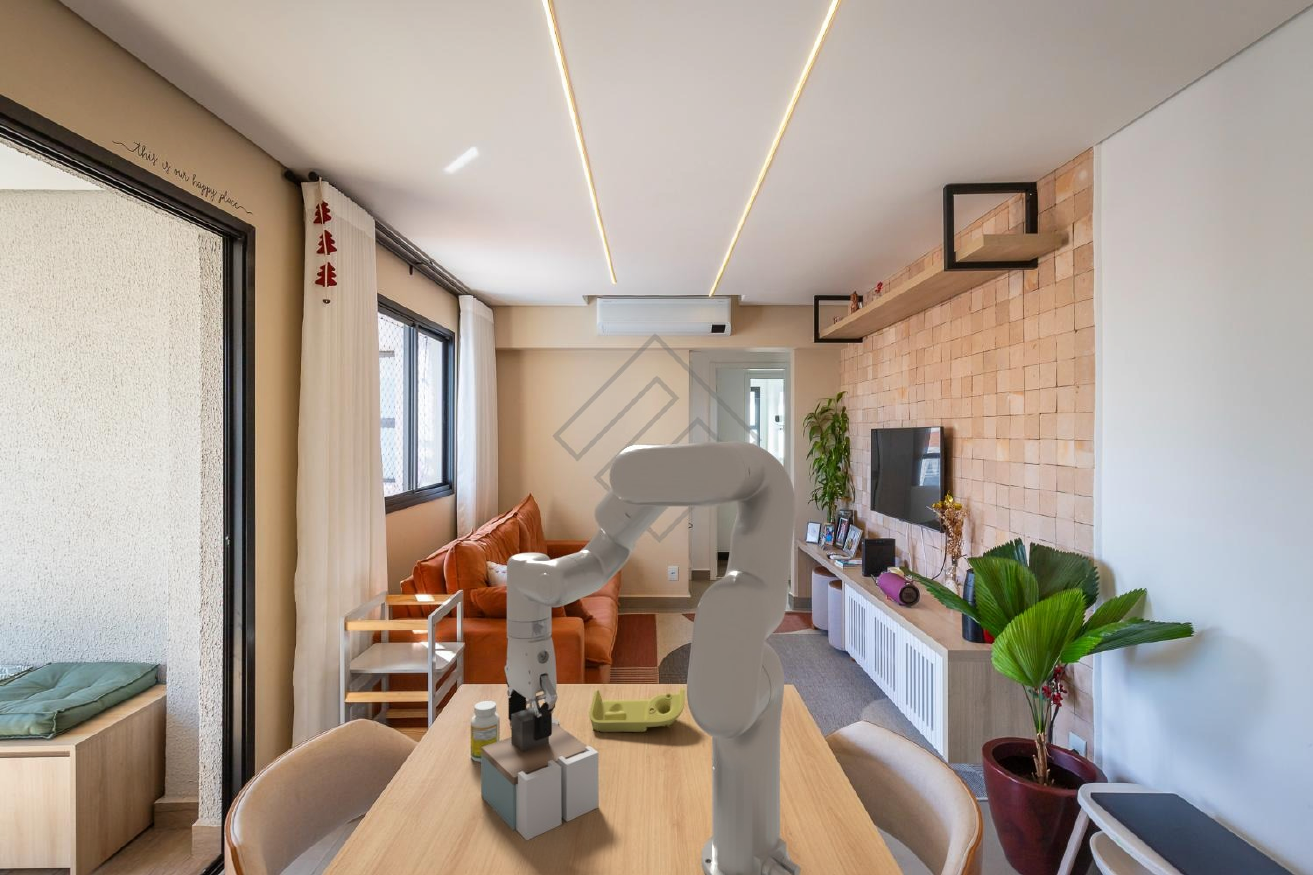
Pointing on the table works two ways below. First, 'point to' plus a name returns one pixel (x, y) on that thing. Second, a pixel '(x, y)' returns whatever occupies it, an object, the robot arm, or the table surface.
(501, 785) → the cabinet
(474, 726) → the supplement bottle
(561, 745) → the door
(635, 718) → the plastic component
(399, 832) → the table surface
